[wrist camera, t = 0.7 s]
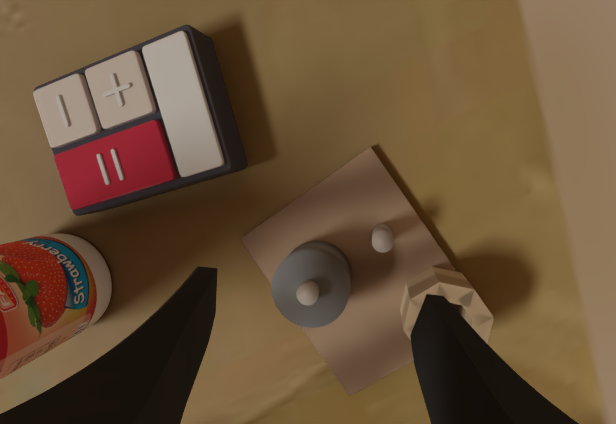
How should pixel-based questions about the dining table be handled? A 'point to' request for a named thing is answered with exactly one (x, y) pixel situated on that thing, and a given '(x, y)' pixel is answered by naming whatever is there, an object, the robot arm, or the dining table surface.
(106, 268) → the fruit juice
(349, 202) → the gear board
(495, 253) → the dining table surface
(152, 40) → the red white black box
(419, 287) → the maple gear
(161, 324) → the robot arm
